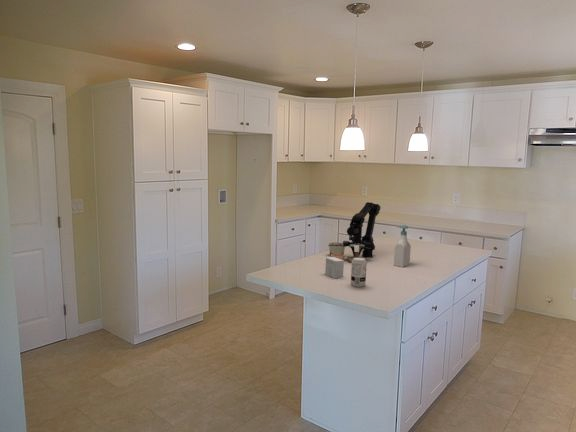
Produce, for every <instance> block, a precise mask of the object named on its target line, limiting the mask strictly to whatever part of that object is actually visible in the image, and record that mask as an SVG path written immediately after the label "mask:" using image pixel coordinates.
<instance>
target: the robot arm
mask: <svg viewBox="0 0 576 432" xmlns="http://www.w3.org/2000/svg"><path fill="white" fill-rule="evenodd" d="M380 211H381V205H380V204H378V203H374V202H372V201H371V202H368V201H367V202H365V204H364V205H363V207H362V208H361V210H360V211H359V212H357V213H355V214H354V215H353V216H352V218H351V220H350V222H349V227H348V228H347V229H346V234H347V235H348V240H343V241H342V243H343V246H346V247H349V248H350V249H351V253H352V255H353V256H354V254H355V253H354V252H355V246H358V253H359V256H360V255H361V257H363V258H364V259H366V258H368V259H373V258H374V257H373V251H375V249H376V245H375V244H374V243H375V242H374V237H373V234H374V233H373V232H374V228H375V222H376V218H377V216H378V215H380ZM367 215H368V220H367V225H366V229H365V233H364V235H362V233H363V227H364V223H365V221H366V219H365V217H367ZM353 256H352V257H353Z"/></svg>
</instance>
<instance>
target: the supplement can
mask: <svg viewBox="0 0 576 432" xmlns="http://www.w3.org/2000/svg"><path fill="white" fill-rule="evenodd" d="M367 264H368V262H367V260H366V258H364V257H363V258H353V260H352V263H351V269H350V271H351V273H350V284H351V286H353V287H356V286H357V288H361V286H363V287H364V286H366V282H367Z"/></svg>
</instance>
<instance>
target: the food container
mask: <svg viewBox="0 0 576 432" xmlns="http://www.w3.org/2000/svg"><path fill="white" fill-rule="evenodd" d="M328 247H329V257H331V254H343V255H344V256H345V248H346V247H347V246H343V242H330V243H328Z"/></svg>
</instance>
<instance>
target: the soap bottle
mask: <svg viewBox="0 0 576 432" xmlns="http://www.w3.org/2000/svg"><path fill="white" fill-rule="evenodd" d="M396 227H397V228H400V229H402V230H401V231H400V234H399V235H400V236H399V240H397V241H398V242H397V243H396V244H395V246H394V254H393V266H395V267H398V266H399V268H405V267H407V266H409V265H410V262H411V248H412V246H411V243H410V242H409V241H408V236H407V234H408V233H407V231H406V229H407V230H408V228H409V227H408V225H406V224H402V225H396ZM404 266H405V267H404Z"/></svg>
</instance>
